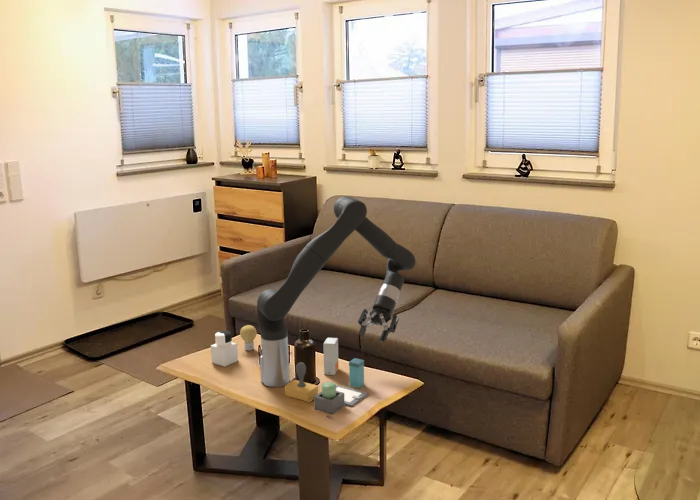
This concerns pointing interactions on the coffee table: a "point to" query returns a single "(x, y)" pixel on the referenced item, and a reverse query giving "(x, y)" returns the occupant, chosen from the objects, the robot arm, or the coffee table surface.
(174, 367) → the coffee table surface
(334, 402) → the button housing
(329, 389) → the button
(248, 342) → the light bulb
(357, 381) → the teal lidded box
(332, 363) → the skincare box
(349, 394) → the clipboard
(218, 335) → the medicine bottle
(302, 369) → the rubber stamp
